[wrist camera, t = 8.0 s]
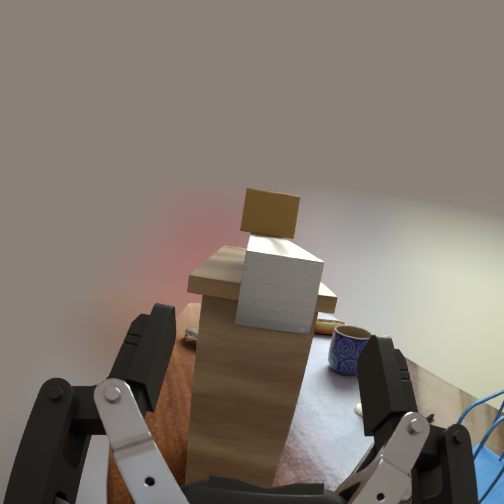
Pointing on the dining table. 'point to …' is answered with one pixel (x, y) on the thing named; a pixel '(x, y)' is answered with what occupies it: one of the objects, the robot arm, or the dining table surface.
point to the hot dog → (326, 326)
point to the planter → (347, 348)
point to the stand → (241, 379)
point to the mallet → (276, 267)
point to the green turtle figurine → (191, 333)
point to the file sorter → (488, 462)
